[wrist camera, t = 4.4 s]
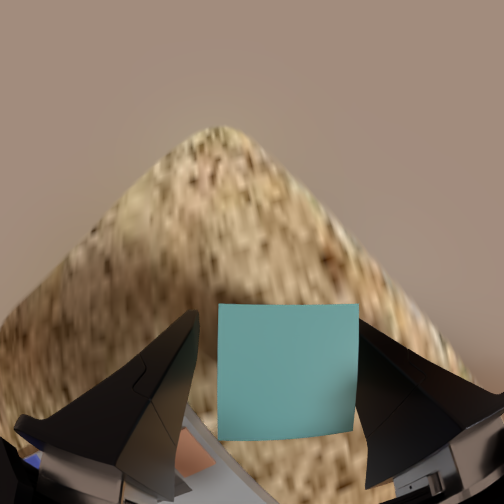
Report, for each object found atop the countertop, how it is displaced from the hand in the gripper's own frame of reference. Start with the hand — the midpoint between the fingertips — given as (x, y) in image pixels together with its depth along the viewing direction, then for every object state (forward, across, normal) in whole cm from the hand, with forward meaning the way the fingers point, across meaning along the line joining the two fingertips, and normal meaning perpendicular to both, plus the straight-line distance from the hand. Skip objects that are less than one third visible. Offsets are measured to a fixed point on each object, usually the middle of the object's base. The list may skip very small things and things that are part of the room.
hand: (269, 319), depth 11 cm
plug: (+4, 0, -6) cm, 7 cm away
